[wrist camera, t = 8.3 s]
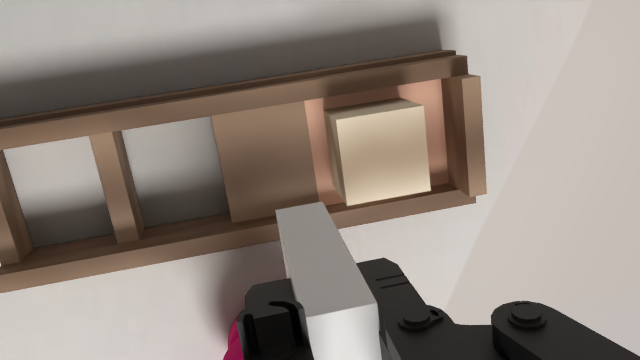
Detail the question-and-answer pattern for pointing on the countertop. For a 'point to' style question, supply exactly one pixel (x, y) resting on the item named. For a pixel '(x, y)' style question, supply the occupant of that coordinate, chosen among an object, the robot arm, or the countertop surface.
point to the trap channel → (247, 161)
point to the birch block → (378, 150)
